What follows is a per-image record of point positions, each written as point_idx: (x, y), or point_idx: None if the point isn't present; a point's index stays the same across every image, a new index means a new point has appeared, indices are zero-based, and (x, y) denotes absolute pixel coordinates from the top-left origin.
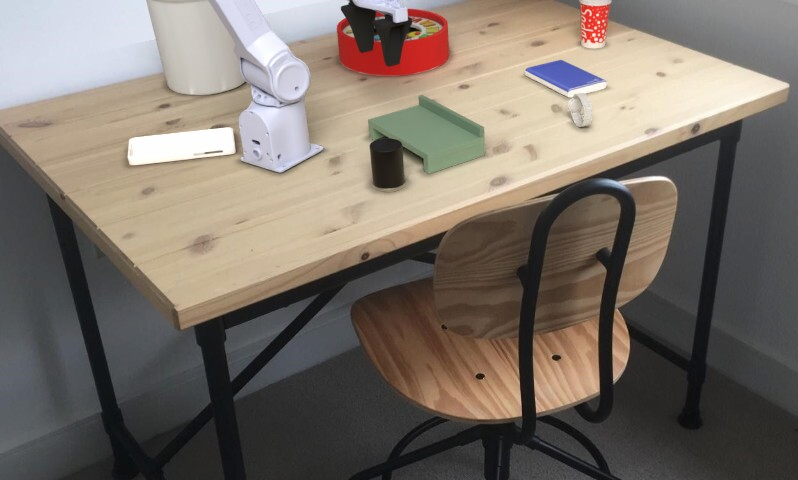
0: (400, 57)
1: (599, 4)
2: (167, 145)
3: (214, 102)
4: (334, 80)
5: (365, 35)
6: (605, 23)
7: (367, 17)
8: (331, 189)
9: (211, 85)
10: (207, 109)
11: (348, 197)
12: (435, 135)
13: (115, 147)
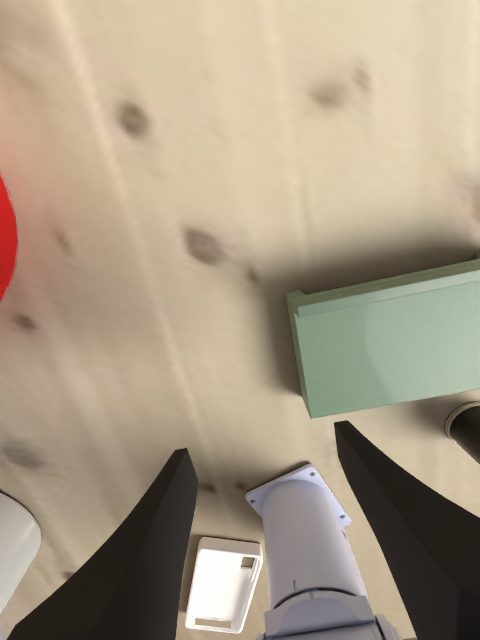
0: (360, 433)
1: None
2: (204, 592)
3: (73, 533)
4: (17, 371)
5: (177, 518)
6: None
7: (147, 599)
8: (428, 482)
9: (31, 547)
10: (97, 543)
11: (463, 472)
12: (456, 339)
13: (182, 622)
